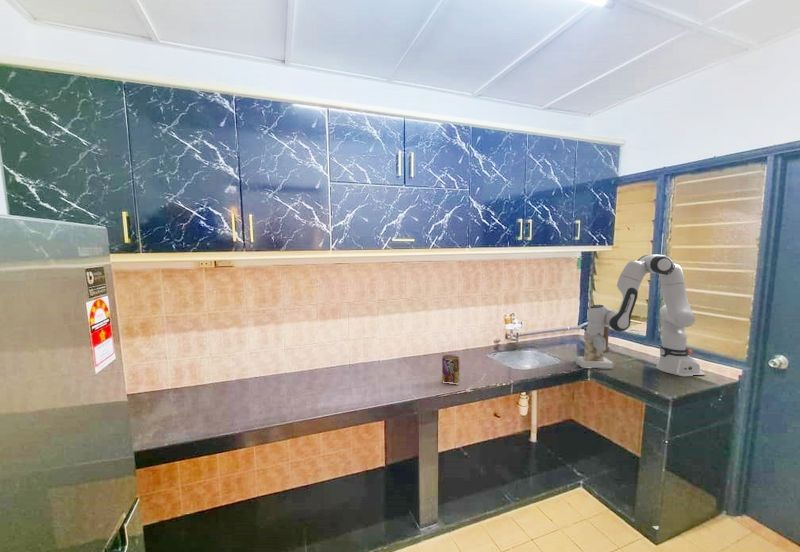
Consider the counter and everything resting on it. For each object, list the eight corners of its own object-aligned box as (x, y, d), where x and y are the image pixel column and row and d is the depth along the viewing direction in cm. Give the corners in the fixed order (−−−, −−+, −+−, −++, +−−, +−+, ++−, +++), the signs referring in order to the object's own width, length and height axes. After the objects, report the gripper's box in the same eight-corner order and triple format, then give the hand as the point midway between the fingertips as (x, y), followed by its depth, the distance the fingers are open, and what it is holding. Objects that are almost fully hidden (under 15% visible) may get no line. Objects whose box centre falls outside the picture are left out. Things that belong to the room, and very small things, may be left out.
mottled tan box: (600, 363, 207) (602, 338, 205) (602, 365, 204) (604, 340, 202) (583, 363, 207) (585, 338, 206) (585, 364, 204) (587, 339, 203)
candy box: (459, 382, 182) (459, 355, 180) (458, 385, 178) (458, 358, 176) (443, 380, 185) (443, 353, 183) (441, 383, 181) (442, 356, 179)
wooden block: (591, 351, 231) (593, 326, 229) (604, 350, 234) (606, 325, 232) (595, 353, 228) (597, 327, 226) (608, 352, 230) (610, 326, 228)
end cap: (604, 363, 210) (604, 357, 209) (612, 369, 200) (613, 363, 199) (574, 362, 211) (574, 356, 211) (581, 368, 202) (581, 362, 201)
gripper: (609, 336, 193) (608, 359, 194) (593, 327, 213) (591, 347, 214) (598, 336, 193) (596, 359, 195) (582, 326, 213) (581, 347, 215)
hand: (594, 353), depth 205 cm, fingers open, 8 cm apart
